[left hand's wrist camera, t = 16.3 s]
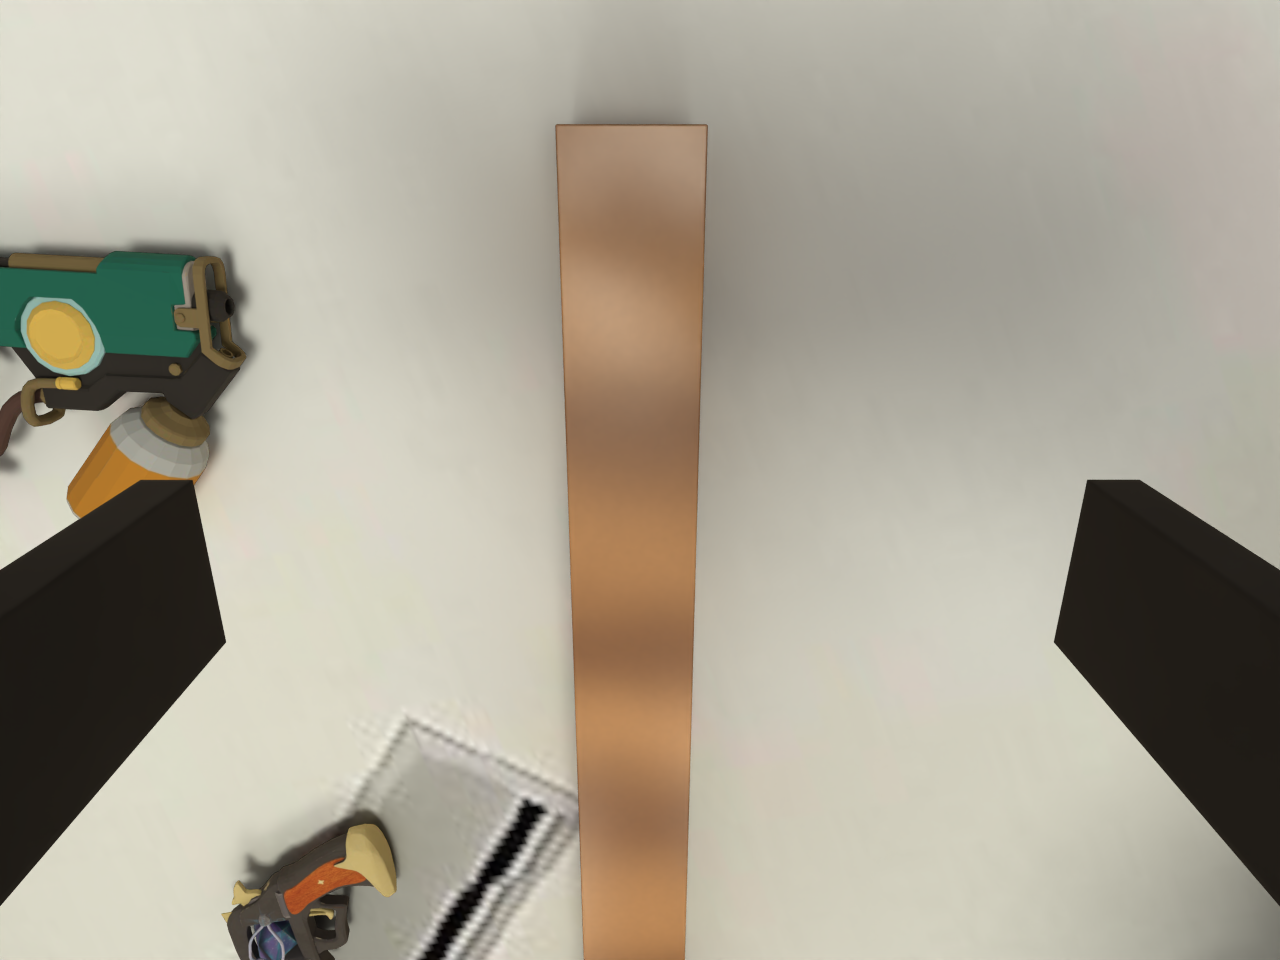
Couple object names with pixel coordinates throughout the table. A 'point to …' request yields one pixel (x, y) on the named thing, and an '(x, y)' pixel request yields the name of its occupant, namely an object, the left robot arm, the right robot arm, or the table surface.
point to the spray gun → (120, 358)
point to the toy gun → (310, 898)
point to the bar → (632, 513)
